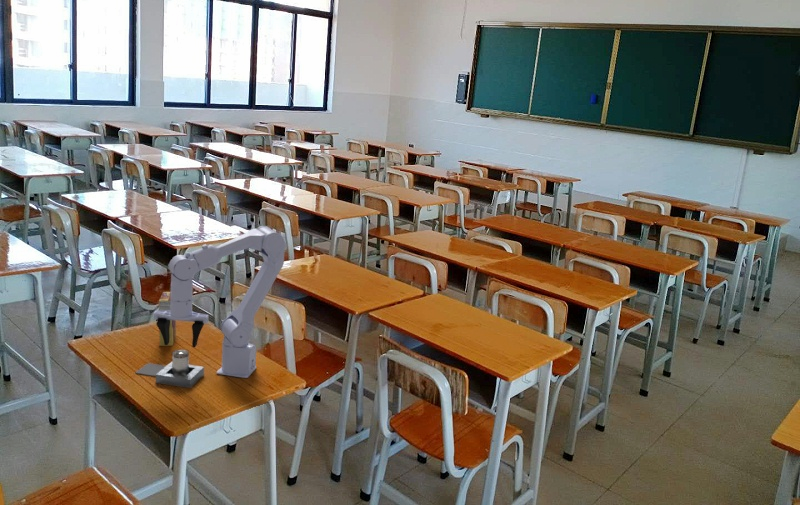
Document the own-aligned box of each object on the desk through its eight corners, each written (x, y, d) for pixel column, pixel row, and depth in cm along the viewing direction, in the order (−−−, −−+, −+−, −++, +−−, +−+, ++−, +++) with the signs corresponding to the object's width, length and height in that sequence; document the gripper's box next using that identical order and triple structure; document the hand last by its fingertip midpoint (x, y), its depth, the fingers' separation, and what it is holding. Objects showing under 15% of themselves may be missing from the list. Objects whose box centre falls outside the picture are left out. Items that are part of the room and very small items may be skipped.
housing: (203, 374, 189) (204, 366, 189) (189, 388, 181) (190, 379, 180) (171, 369, 191) (171, 361, 190) (155, 382, 182) (155, 374, 181)
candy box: (162, 335, 214) (162, 291, 211) (176, 335, 215) (177, 291, 212) (158, 346, 206) (158, 300, 202) (172, 346, 207) (173, 300, 203)
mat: (170, 367, 192) (170, 366, 192) (158, 377, 185) (158, 376, 185) (147, 363, 193) (147, 362, 193) (135, 373, 186) (135, 372, 186)
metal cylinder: (191, 376, 188) (191, 350, 186) (184, 383, 183) (184, 356, 181) (176, 374, 188) (176, 348, 186) (169, 380, 184) (169, 354, 182)
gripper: (211, 296, 184) (210, 341, 187) (159, 292, 183) (159, 337, 187) (205, 304, 177) (204, 351, 181) (151, 300, 177) (150, 347, 180)
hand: (180, 344), depth 183 cm, fingers open, 7 cm apart
